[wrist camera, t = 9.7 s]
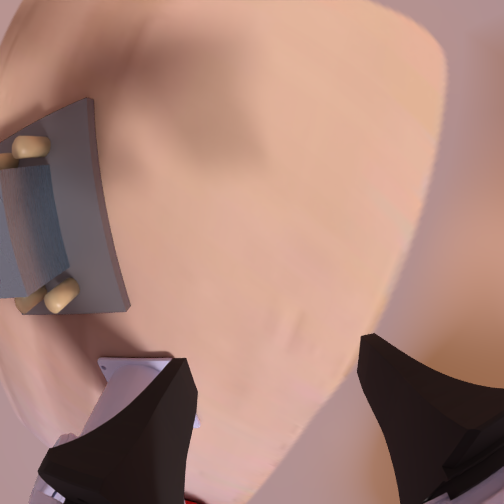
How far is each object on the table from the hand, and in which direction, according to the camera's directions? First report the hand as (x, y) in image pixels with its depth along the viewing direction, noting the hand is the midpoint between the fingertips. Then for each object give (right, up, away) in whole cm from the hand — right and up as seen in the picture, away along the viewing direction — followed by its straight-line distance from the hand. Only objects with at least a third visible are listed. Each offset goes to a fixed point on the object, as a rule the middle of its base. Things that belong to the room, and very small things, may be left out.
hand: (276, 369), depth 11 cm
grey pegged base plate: (-18, +7, +7) cm, 21 cm away
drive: (-18, +7, +6) cm, 20 cm away
